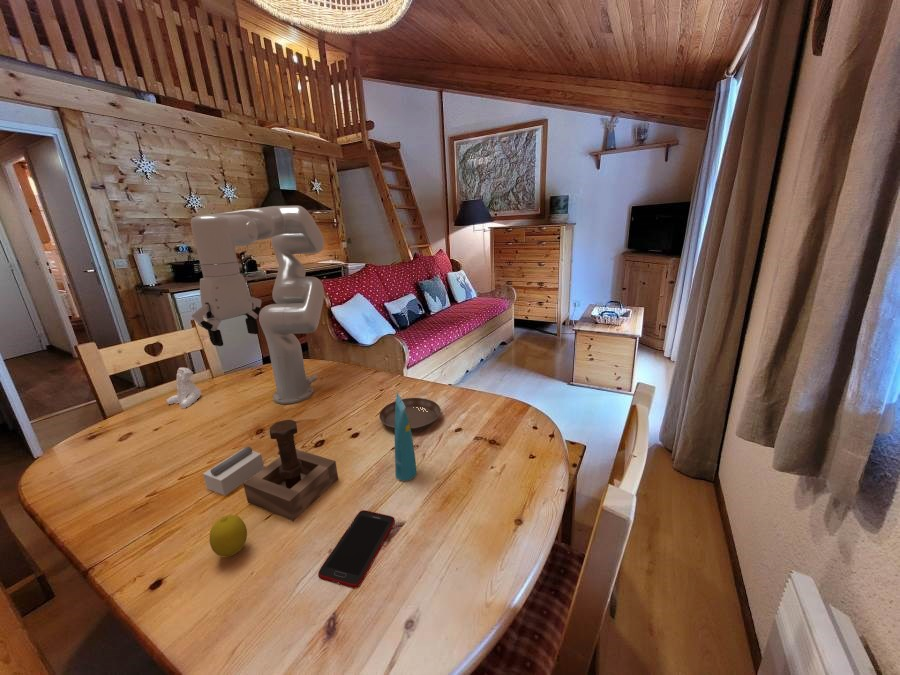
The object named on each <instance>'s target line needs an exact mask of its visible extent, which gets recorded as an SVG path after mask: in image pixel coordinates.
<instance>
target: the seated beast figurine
mask: <svg viewBox="0 0 900 675" xmlns="http://www.w3.org/2000/svg"><path fill="white" fill-rule="evenodd" d="M176 372H177V373H176V381H177V382H176V384H177V385H176V386H175V387H176V390H177V394H175V395H172V396H171V395H170V397H168V398H166V403H167V405H169V404H171V405H174V404H173V403H179V404H178V405H179V407H180V409H182V408H185V409H187V408H189V407H191V406H192V405H193V404H194V403H195V402H196V401H198V400H199V399H200V397H201V393H202V391H201V389H200V388H199V387H198V386H196V384H195V383H194V382H193V380H191V377H192V376H193V374H194V371H192V370H191V369H190V368H188V367H184V366H183V367H179V368H178V369H177V371H176ZM198 398H199V399H198ZM197 399H198V400H197ZM192 403H193V404H192ZM191 404H192V405H191ZM169 406H170V405H169ZM188 406H189V407H188ZM186 407H187V408H186Z"/></svg>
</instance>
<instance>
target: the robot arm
mask: <svg viewBox="0 0 900 675" xmlns="http://www.w3.org/2000/svg"><path fill="white" fill-rule="evenodd" d="M190 219H191V220H190V227H191V232H192V236H193V239H194V243H195V248H196V251H197V252H196V253H197V255H198V260H199V264H200V269H201V272H202V278H200V279H199V295H200V302H201V306H200V308H199V309H197V310H196V311H195V312H194V313H192V315H191V319H193V320H194V322H195V323H197V325H198V326H200V327H202V328H203V329H204V330H206V331H207V333H208V337H209V341H210V343H211V344H212V345H213V346H217V347H223V346H224V340H223V336H222V333H221V330H220V329H218V328H219V325H220V323H221V321H222V322H223V321H225V320H230V319H233V318H237V317H241V316H245V317H246V318H245V326H246V330H247V333H248V334H250V335H258V334H259V327H258V322H257V319H258V320H259V325H260V327H261V329H262V332H263V335H264V337H265V340H266V343H267V347H268V348H267V349H268V352H269V359H270V362H271V368H272V372H273V377H274V382H275V387H276V392H275V393H273V395H272V399H273V401H274V402H275V403H277V404H280V405H290V404H297V403H298V402H302V401H305V400H306V399H307V400H308V399H309V398H310V397H311V396H312V395H313V394H314V388H313V386H311V385H312V383H314V382H316V381H317V380H318V376H317V375H316V374H314V375H312V376H310V377H309V376H308V375H306V368H305V362H304V357H303V350H302V345H301V342H300V341H299V339H298V337H297V336H296V335H295V334H311V333H314V332H316V330H317V329H318V327H319V325H320V319H321V314H322V311H323V310H322V309H323V304H324V297H325V289H324V285H323V282H322V281H321V279H319V278H318V277H315V276H306V268H305V266H304V265H303V263H302V262H301V261H300V260H299V259H298V258H296V256H295V255H310V254H311V255H312V254H313V255H314V254H319V253H321V252H322V251H323V250H324V246H325V240H324V239H325V238H324V236H323V233H322V231H321V230H320V228H319V226H318V225H317V223H316V221H315V220H314V218H313V217H312V215H311V214H310V213H309V211H308V210H307V209H306V208H305V207H303V206H301V205H272V206H266V207H265V206H264V207H258V208H249V209H240V210H235V211H228V212H227V211H226V212H220V213H218V212H217V213H211V214H203V215H195V216H193V217H192V218H190ZM270 238H271V240H270V241H271V246H272V249H273V253H274V254H275V258H276V261H277V263H278V271H277V273H276V274H277V275H276V277H275V281H274V285H273V288H272V294H271V295H272V299H273V302H274V303H271V304H268V305H265V306H264V307H263V308H261V306H262V299H260V298H257V297H254V296H251V294H250V290H249V287H248V285H247V282H246V279H245V277H244V275H243V274H242V273H241V272H240V271H241V270H240V269H243V264H242V263H239V261H238V256H237V253H236V247H246V246H247V247H248V246H251V245H252V244H253V243H255V242H256V241H262V240H267V239H270ZM206 319H207V321H206Z"/></svg>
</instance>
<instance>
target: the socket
mask: <svg viewBox="0 0 900 675" xmlns="http://www.w3.org/2000/svg"><path fill="white" fill-rule="evenodd" d="M296 454H297V458H298V460H301V463H302V470H303V471H302V472H301V473H300V475H301V480H300V481H299V482H298V483H297V484H296V485H294V486H293V487H292V488H291V489H289V488H287V487H286V483H285V479H284V478H281V477H280V469H279V467H280V465H281V464H282V463H281V458H280V456H279V457H278V458H276V459H275V460H274V461H272V462H271V463H269V464H268V465H267V466H264V468H263V469H262V470H261V471H259V472H258V473H256V474H255V475H254V476H252V477H251V478H250V479H248V480H247V481H245V482H244V483H243V484H242V486H243V488H244V493H245V496H246V501H247V504H249V505H252V506H255V507H257V508H259V509H262V510H265V511H267V512H270V513H272V514H274V515H276V516H279V517H281V518H283V519H286V520H289V521H291V522H295V521H296V520H297V519H298V518H299V517H300V516H302V515H303V514H304V513H305V512H306V511H307V510H309V508H310V507H311V506H312V505H313V504H314V503H315V502H317V500H319V499H320V498H321V497H322V496H323V495H324V494H325V493H326V492H327V491H328V490H329V489H331V487H332V486H334V484H336V482H338V481H339V475H338V468H337V461H336V460H332V459H330V458H327V457H323V456H321V455H320V456H319V455H317V454H314V453H310V452H307V451H304V450H300V449H297V448H296Z"/></svg>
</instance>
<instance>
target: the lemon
mask: <svg viewBox="0 0 900 675" xmlns="http://www.w3.org/2000/svg"><path fill="white" fill-rule="evenodd" d="M247 530H248V529H247V525H246V524H245V522H244V520H243V519H242V518H241V517H240V516H238V515H235V514H227V515H223V516H221V517H220V518H219V519H217V520H216V521H215V522H214V523H213V525H212V526H211V528H210V531H209V544H210V548H211V550H212V552H213V553H214V554H216V555H217V556H220V557H223V558H224V557H225V558H228V557H231V556H234V555H235V554H237V553H238V552H240V550H242V548H243V547H244V545H245V544H246V542H247V540H248V539H247V537H248V531H247Z"/></svg>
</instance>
